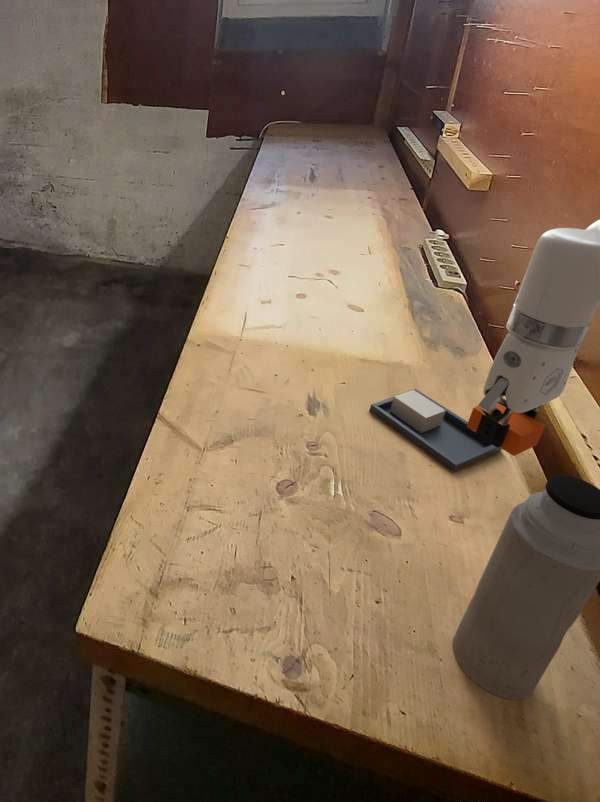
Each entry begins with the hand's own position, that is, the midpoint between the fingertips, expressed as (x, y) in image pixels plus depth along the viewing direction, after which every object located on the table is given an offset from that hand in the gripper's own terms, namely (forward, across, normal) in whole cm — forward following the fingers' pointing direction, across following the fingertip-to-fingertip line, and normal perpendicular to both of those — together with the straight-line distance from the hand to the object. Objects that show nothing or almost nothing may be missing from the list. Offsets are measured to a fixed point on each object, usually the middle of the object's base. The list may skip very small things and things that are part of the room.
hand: (501, 433), depth 79 cm
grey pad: (+15, +10, +17) cm, 25 cm away
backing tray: (+15, +10, +14) cm, 23 cm away
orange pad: (0, 0, 0) cm, 0 cm away
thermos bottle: (+15, -19, -15) cm, 29 cm away
